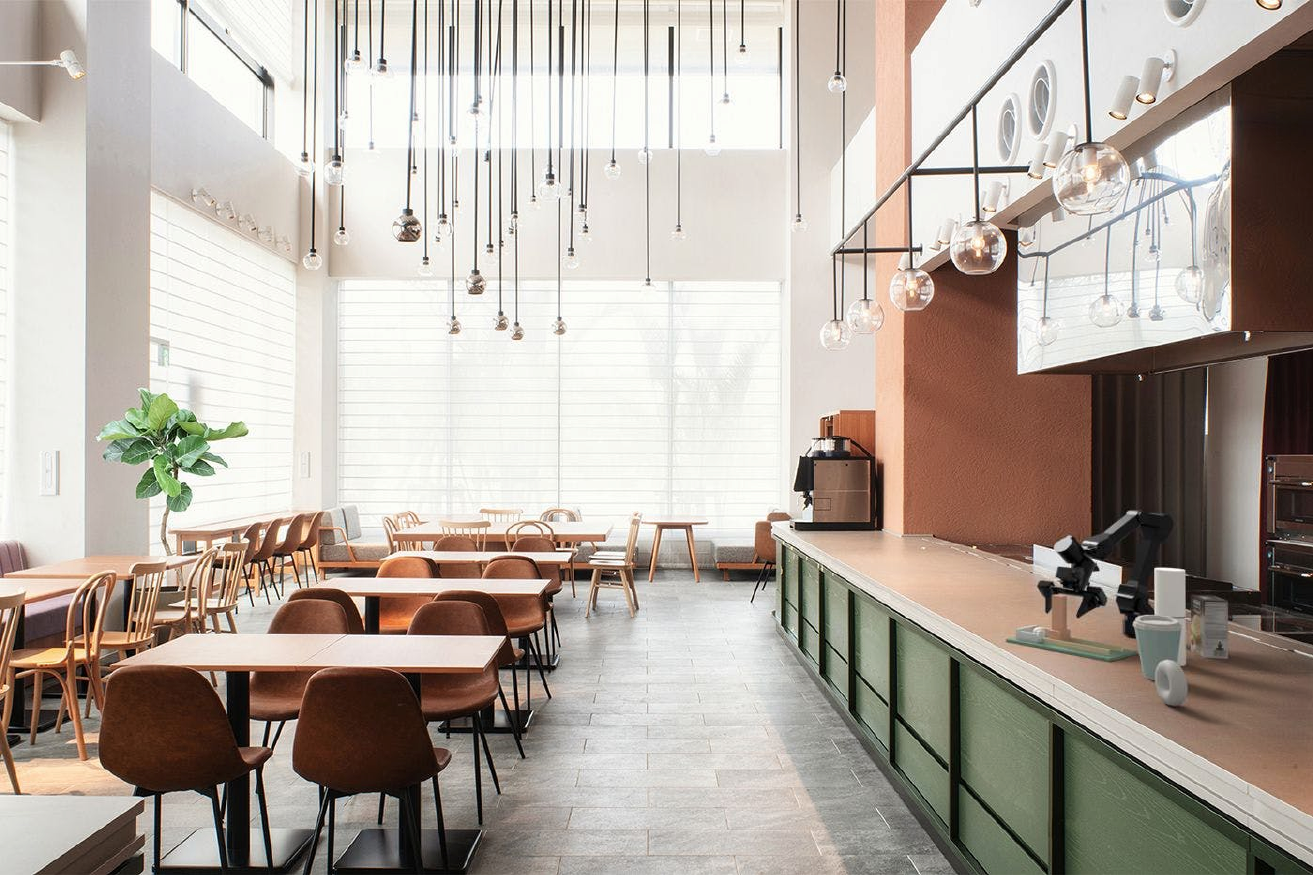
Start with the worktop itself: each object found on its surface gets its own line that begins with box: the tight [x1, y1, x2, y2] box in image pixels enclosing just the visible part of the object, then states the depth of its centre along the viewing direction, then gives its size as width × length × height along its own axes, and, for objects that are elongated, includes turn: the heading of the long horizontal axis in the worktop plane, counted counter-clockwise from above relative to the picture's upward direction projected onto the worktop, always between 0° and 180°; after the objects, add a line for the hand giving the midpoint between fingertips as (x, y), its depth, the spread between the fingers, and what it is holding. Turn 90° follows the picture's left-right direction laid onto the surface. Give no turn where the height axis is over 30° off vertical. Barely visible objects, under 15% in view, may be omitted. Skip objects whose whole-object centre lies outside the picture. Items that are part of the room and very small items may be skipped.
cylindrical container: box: [1154, 567, 1187, 667], centre depth 229 cm, size 7×7×25 cm
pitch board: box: [1005, 636, 1138, 663], centre depth 245 cm, size 16×30×2 cm, turn 37°
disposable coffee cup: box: [1133, 615, 1182, 681], centre depth 212 cm, size 11×11×15 cm
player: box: [1048, 594, 1072, 642], centre depth 248 cm, size 6×4×14 cm, turn 127°
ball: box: [1033, 626, 1046, 637], centre depth 253 cm, size 4×4×4 cm
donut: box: [1154, 660, 1188, 707], centre depth 189 cm, size 10×4×10 cm, turn 174°
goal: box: [1015, 624, 1052, 644], centre depth 253 cm, size 12×8×4 cm
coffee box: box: [1190, 594, 1229, 660], centre depth 238 cm, size 9×6×16 cm
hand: (1061, 615), depth 249 cm, fingers open, 9 cm apart
